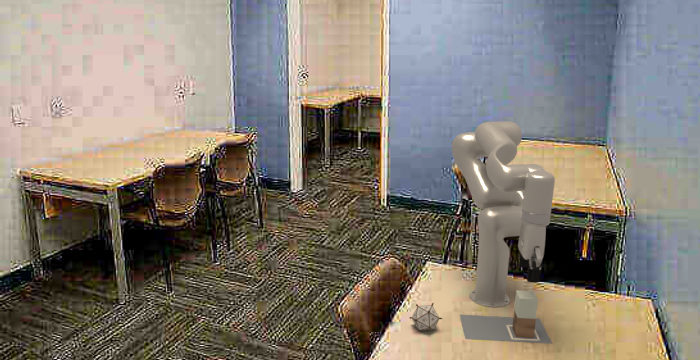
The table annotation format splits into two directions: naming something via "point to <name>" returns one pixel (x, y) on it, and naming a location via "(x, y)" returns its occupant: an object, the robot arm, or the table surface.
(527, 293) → the sage block
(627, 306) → the table surface
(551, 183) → the robot arm
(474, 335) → the board
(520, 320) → the walnut block
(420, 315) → the game die
